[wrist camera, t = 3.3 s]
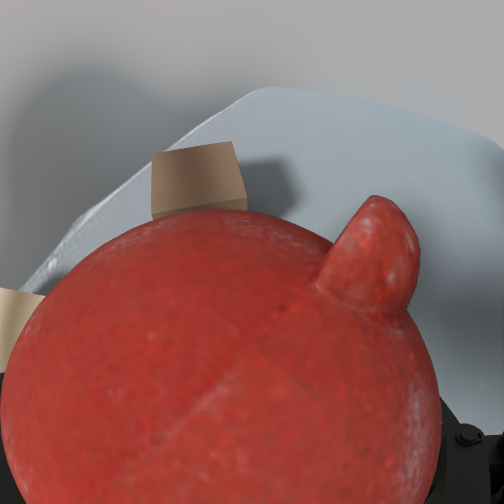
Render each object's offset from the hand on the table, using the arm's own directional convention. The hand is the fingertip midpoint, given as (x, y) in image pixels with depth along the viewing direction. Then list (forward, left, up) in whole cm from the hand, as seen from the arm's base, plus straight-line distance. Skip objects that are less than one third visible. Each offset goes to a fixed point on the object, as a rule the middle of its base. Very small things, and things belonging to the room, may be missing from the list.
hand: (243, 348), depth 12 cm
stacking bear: (0, +3, -7) cm, 8 cm away
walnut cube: (+4, -12, -7) cm, 15 cm away
